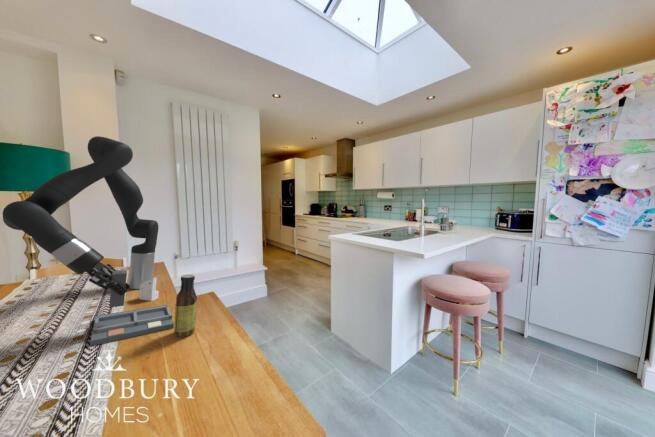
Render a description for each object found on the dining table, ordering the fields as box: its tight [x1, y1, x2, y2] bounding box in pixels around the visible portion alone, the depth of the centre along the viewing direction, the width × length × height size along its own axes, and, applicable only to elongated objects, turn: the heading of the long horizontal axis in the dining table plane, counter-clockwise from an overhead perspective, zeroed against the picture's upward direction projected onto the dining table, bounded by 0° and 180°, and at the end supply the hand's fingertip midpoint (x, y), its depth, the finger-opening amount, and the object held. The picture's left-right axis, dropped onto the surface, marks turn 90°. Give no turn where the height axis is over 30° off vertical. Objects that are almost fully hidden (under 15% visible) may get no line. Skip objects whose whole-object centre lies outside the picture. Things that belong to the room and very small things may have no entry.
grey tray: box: [89, 304, 175, 347], centre depth 81 cm, size 18×21×3 cm
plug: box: [108, 266, 128, 308], centre depth 78 cm, size 4×4×13 cm
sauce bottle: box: [173, 273, 198, 338], centre depth 79 cm, size 6×6×20 cm
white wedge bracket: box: [138, 276, 160, 302], centre depth 102 cm, size 4×10×9 cm, turn 85°
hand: (125, 290), depth 79 cm, fingers closed on plug, 4 cm apart
